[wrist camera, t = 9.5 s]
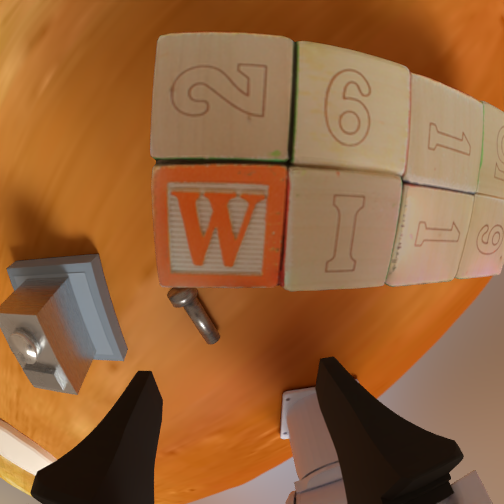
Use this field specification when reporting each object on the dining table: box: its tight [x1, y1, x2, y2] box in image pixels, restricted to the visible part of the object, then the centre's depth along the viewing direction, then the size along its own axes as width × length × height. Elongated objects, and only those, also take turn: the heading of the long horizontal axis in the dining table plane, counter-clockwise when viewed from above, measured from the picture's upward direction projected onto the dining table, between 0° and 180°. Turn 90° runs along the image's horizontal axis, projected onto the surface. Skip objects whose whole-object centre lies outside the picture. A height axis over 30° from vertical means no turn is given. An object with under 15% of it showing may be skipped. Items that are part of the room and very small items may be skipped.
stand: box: [7, 254, 128, 361], centre depth 20 cm, size 9×9×2 cm
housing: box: [0, 277, 97, 395], centre depth 16 cm, size 7×4×6 cm, turn 2°
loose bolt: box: [167, 287, 220, 344], centre depth 20 cm, size 5×2×2 cm, turn 22°
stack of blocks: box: [150, 31, 504, 291], centre depth 12 cm, size 21×6×12 cm, turn 87°
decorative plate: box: [0, 419, 57, 476], centre depth 31 cm, size 25×4×25 cm
